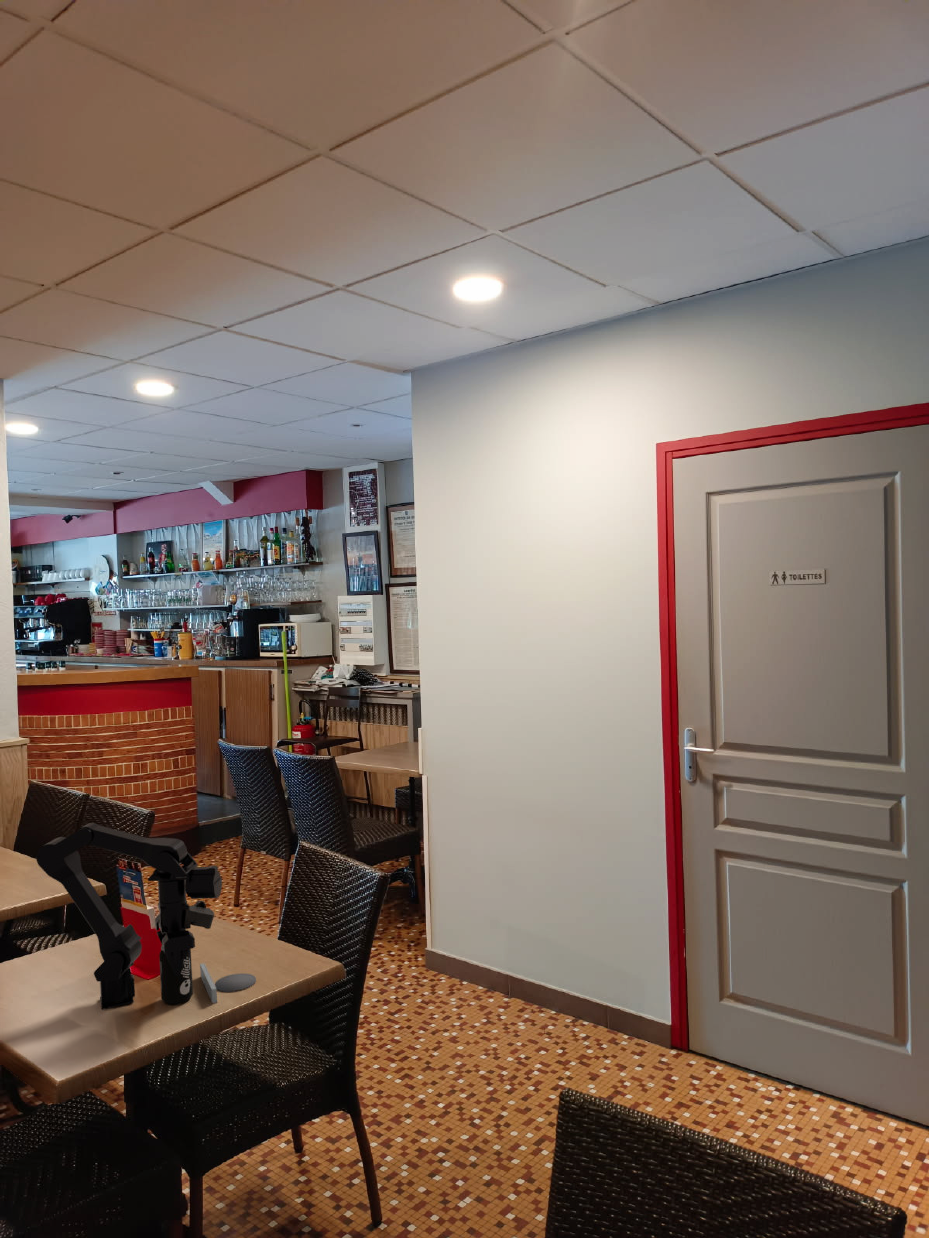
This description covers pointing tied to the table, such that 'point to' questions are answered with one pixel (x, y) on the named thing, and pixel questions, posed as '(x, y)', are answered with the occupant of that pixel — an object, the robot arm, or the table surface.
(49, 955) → the table surface
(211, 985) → the low wall
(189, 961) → the beverage can
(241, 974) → the coaster mat
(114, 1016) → the table surface
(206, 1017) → the table surface
